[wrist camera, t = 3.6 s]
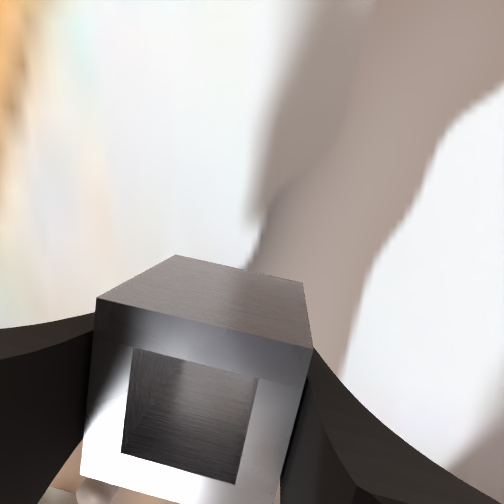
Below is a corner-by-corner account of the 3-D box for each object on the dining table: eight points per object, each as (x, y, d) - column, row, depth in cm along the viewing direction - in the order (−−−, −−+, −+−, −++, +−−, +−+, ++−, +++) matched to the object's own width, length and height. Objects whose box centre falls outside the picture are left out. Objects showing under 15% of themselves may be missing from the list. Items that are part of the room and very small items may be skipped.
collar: (302, 282, 11) (313, 349, 7) (274, 396, 12) (266, 527, 8) (175, 254, 12) (96, 297, 7) (159, 367, 13) (80, 474, 8)
